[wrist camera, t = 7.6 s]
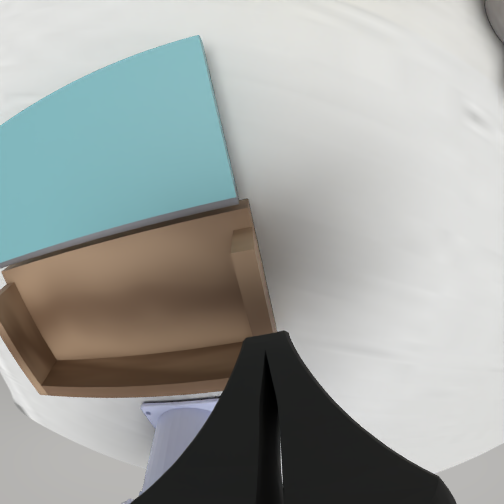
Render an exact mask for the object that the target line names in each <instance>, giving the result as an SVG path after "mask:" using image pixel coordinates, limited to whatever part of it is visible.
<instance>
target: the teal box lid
mask: <svg viewBox="0 0 504 504" xmlns="http://www.w3.org/2000/svg"><path fill="white" fill-rule="evenodd" d="M238 204H239V200H238V195H237V190H236V185H235V181H234V177H233V172H232V168H231V164H230V159H229V155H228V151H227V146H226V142H225V138H224V134H223V129H222V125H221V121H220V116H219V112H218V108H217V103H216V99H215V95H214V90H213V86H212V82H211V77H210V73H209V69H208V64H207V60H206V56H205V52H204V47H203V43H202V40H201V38H200V36H199V35H197V36H193V37H189V38H186V39H182V40H179V41H175V42H172V43H169V44H166V45H162V46H159V47H156V48H153V49H150V50H147V51H145V52H142V53H139V54H136V55H134V56H131V57H128V58H126V59H123V60H121V61H118V62H116V63H113V64H111V65H109V66H106V67H104V68H102V69H99V70H97V71H95V72H93V73H91V74H89V75H86V76H84V77H82V78H80V79H78V80H76V81H74V82H72V83H70V84H68V85H66V86H64V87H62V88H61V89H59V90H57V91H55V92H53V93H51V94H50V95H48V96H46V97H44V98H43V99H41V100H39V101H38V102H36V103H34V104H33V105H31V106H29V107H28V108H26V109H25V110H23V111H21V112H20V113H18V114H17V115H15V116H14V117H12V118H11V119H9V120H8V121H6V122H5V123H3V124H2V125H1V126H0V268H3V267H6V266H9V265H12V264H15V263H18V262H22V261H25V260H28V259H31V258H34V257H37V256H41V255H44V254H47V253H51V252H54V251H57V250H61V249H64V248H67V247H71V246H74V245H78V244H81V243H85V242H88V241H92V240H95V239H99V238H103V237H106V236H110V235H114V234H117V233H121V232H125V231H129V230H133V229H136V228H140V227H144V226H148V225H152V224H156V223H160V222H164V221H168V220H172V219H176V218H181V217H185V216H189V215H193V214H198V213H202V212H206V211H211V210H215V209H219V208H224V207H229V206H233V205H238Z"/></svg>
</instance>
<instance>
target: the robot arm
mask: <svg viewBox="0 0 504 504" xmlns="http://www.w3.org/2000/svg"><path fill="white" fill-rule="evenodd" d="M141 410H142V411H143V413H144V414H145V416H146V417H147V418H148V420H149V421H150V422H151V424H152V425H153V427H154V428H155V429H156V430H155V434H154V438H153V443H152V447H151V452H150V456H149V461H148V465H147V470H146V475H145V480H144V484H143V489H142V491H140V493H139V497H137V498H136V499H135V500H133V499H128V500H127V501H125V502H123V503H121V504H456V501H455V499H454V497H453V496H452V494H451V492H450V491H449V489H448V488H447V486H446V485H445V484H444V482H443V481H442V480H441V479H440V477H439V476H437V475H435V474H433V473H431V472H429V471H427V470H425V469H423V468H421V467H420V466H418V465H416V464H414V463H413V462H411V461H409V460H407V459H406V458H404V457H403V456H401V455H399V454H398V453H396V452H395V451H393V450H392V449H390V448H389V447H387V446H386V445H385V444H383V443H382V442H381V441H379V440H378V439H377V438H375V437H374V436H373V435H371V434H370V433H369V432H367V431H366V430H365V429H364V428H362V427H361V426H360V425H359V424H358V423H357V422H356V421H354V420H353V419H352V418H351V417H350V416H349V415H348V414H347V413H346V412H345V411H344V410H343V409H342V408H341V407H340V406H339V405H338V404H337V403H336V402H335V401H334V400H333V399H332V398H331V397H330V396H329V395H328V393H327V392H326V391H325V390H324V389H323V388H322V386H321V385H320V384H319V383H318V381H317V380H316V379H315V378H314V376H313V375H312V374H311V372H310V371H309V369H308V368H307V367H306V365H305V364H304V362H303V361H302V359H301V358H300V356H299V354H298V353H297V351H296V349H295V347H294V345H293V343H292V341H291V339H290V336H289V333H288V332H286V331H280V332H275V333H270V334H264V335H259V336H253V337H248V338H245V340H244V341H243V343H242V347H241V350H240V353H239V356H238V358H237V361H236V364H235V366H234V369H233V371H232V373H231V375H230V378H229V380H228V382H227V384H226V386H225V388H224V390H223V392H222V394H221V396H220V398H216V399H207V400H196V401H183V402H167V403H144V404H142V405H141ZM280 439H281V454H280ZM281 455H282V475H283V484H282V476H281Z"/></svg>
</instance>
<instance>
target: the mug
mask: <svg viewBox="0 0 504 504" xmlns="http://www.w3.org/2000/svg"><path fill="white" fill-rule="evenodd" d="M485 9H486V13H487V16H488V19H489V22H490V24H491V26H492V28H493V30H494V31H495V33H496V34H497V36H498V37H499V39H500V40H501V41H502V42H503V43H504V0H485Z"/></svg>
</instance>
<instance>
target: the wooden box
mask: <svg viewBox="0 0 504 504" xmlns="http://www.w3.org/2000/svg"><path fill="white" fill-rule="evenodd" d="M2 274H3V276H4V279H5V281H6V283H7V285H5V286H4V287H3V288H2V289H1V290H0V336H1V338H2V339H3V341H4V343H5V344H6V346H7V348H8V349H9V351H10V352H11V354H12V355H13V357H14V359H15V360H16V362H17V363H18V365H19V366H20V368H21V369H22V370H23V372H24V373H25V375H26V376H27V378H28V379H29V380H30V382H31V383H32V385H33V386H34V387H35V389H36V390H37V391H38V393H39V394H40V395H51V396H67V397H95V398H127V397H156V396H173V395H186V394H197V393H207V392H216V391H223V390H224V388H225V386H226V384H227V382H228V380H229V378H230V375H231V373H232V371H233V369H234V366H235V364H236V361H237V358H238V356H239V353H240V350H241V347H242V343H243V341H244V340H245V338H248V337H253V336H259V335H264V334H270V333H275V332H277V330H276V325H275V320H274V316H273V311H272V306H271V302H270V297H269V292H268V288H267V283H266V279H265V274H264V269H263V265H262V260H261V256H260V251H259V247H258V242H257V237H256V233H255V228H254V224H253V219H252V215H251V210H250V206H249V201H248V199H244V200H239V204H238V205H233V206H229V207H224V208H219V209H215V210H211V211H206V212H202V213H198V214H193V215H189V216H185V217H181V218H176V219H172V220H168V221H164V222H160V223H156V224H152V225H148V226H144V227H140V228H136V229H133V230H129V231H125V232H121V233H117V234H114V235H110V236H106V237H103V238H99V239H95V240H92V241H88V242H85V243H81V244H78V245H74V246H71V247H67V248H64V249H61V250H57V251H54V252H51V253H47V254H44V255H41V256H37V257H34V258H31V259H28V260H25V261H22V262H18V263H15V264H12V265H10V266H8V267H7V268H6V269H4V270H3V271H2Z"/></svg>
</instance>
